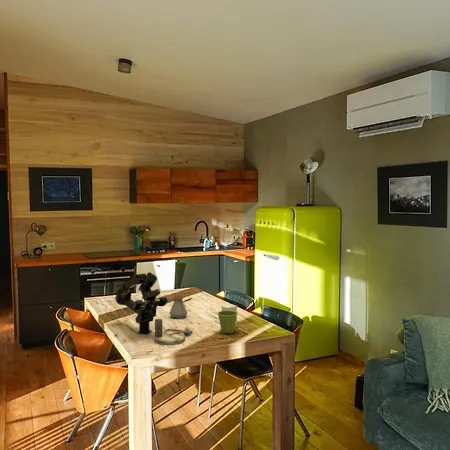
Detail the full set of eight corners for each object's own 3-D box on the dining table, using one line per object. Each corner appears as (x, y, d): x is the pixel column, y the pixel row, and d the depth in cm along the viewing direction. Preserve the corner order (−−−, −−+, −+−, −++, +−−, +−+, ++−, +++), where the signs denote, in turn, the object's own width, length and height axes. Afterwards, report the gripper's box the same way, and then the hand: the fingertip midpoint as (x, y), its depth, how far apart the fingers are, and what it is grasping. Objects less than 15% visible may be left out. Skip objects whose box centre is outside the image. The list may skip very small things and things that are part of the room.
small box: (231, 320, 292) (231, 304, 292) (237, 322, 288) (237, 305, 287) (221, 322, 287) (221, 305, 287) (227, 324, 283) (227, 307, 282)
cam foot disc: (180, 330, 267) (180, 312, 266) (198, 336, 255) (198, 317, 255) (149, 337, 253) (148, 318, 252) (166, 344, 241) (166, 324, 240)
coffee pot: (166, 316, 302) (166, 293, 301) (181, 313, 309) (181, 291, 308) (184, 323, 285) (184, 299, 284) (199, 320, 292) (199, 297, 291)
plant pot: (216, 329, 273) (216, 310, 272) (237, 329, 273) (237, 310, 273) (217, 335, 261) (217, 315, 260) (238, 335, 262) (238, 315, 261)
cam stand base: (166, 331, 269) (166, 328, 268) (194, 334, 264) (194, 330, 263) (148, 343, 247) (148, 340, 247) (178, 346, 242) (178, 343, 242)
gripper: (134, 285, 252) (143, 310, 243) (166, 282, 262) (175, 305, 253) (129, 297, 259) (137, 321, 250) (160, 293, 269) (168, 317, 260)
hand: (155, 316), depth 253 cm, fingers closed
